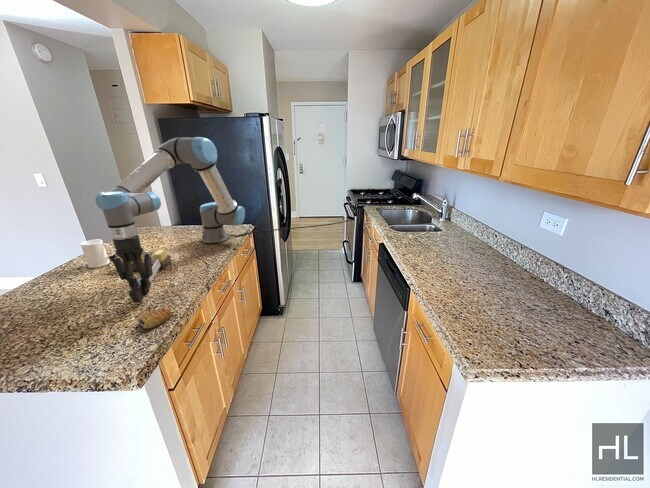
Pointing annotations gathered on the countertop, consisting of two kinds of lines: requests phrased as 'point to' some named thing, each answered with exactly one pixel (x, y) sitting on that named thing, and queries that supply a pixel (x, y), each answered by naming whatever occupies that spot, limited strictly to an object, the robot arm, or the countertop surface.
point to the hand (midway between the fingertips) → (142, 293)
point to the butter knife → (136, 290)
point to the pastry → (154, 318)
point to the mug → (95, 253)
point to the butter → (132, 261)
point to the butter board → (163, 263)
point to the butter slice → (160, 255)
